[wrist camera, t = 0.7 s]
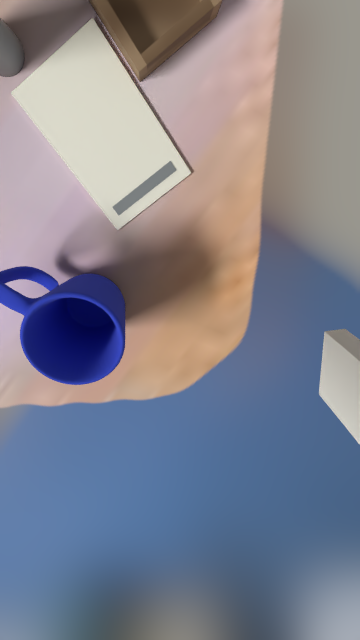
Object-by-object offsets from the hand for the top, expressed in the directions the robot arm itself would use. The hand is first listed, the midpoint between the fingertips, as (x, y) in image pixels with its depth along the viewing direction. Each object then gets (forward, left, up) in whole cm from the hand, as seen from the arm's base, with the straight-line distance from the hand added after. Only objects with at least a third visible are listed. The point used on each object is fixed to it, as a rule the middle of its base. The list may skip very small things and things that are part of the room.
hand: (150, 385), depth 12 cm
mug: (-2, -8, -24) cm, 26 cm away
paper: (-11, +4, -24) cm, 27 cm away
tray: (-17, +13, -24) cm, 32 cm away
